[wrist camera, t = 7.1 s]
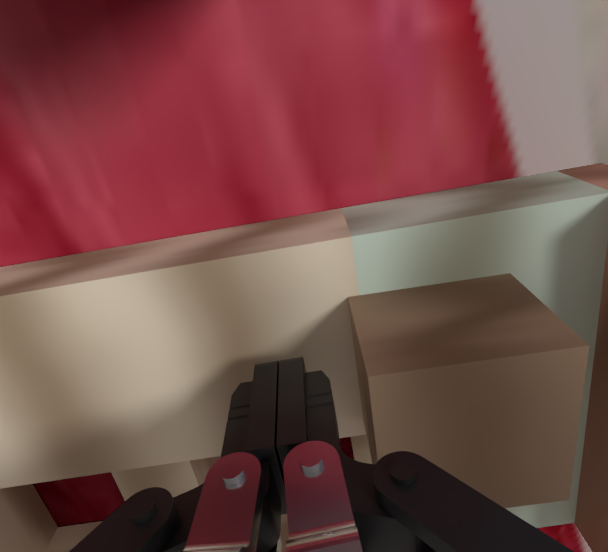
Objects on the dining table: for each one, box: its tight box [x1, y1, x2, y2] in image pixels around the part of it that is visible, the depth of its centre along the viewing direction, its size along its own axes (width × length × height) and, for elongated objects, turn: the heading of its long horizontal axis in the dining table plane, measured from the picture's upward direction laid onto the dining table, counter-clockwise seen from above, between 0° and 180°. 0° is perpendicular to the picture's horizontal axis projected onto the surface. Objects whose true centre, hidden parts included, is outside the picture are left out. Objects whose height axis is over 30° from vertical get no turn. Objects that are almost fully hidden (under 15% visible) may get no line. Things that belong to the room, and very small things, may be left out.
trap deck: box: [0, 163, 608, 552], centre depth 16 cm, size 30×14×6 cm, turn 100°
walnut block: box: [348, 273, 589, 508], centre depth 13 cm, size 5×5×4 cm
